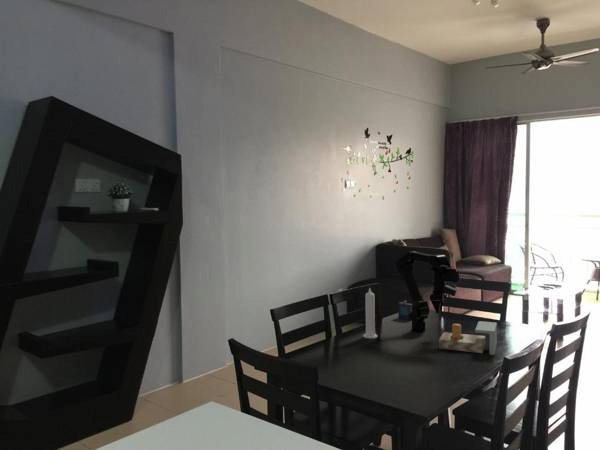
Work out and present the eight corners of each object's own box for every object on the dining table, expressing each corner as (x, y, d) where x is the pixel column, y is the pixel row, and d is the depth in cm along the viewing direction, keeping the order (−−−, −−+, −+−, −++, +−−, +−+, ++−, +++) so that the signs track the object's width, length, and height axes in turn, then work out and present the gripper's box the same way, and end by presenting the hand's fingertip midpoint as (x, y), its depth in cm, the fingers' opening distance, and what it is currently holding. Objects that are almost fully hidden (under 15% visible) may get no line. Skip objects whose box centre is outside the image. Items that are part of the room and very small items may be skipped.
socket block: (439, 348, 231) (438, 339, 230) (443, 340, 243) (443, 332, 243) (482, 353, 223) (482, 344, 222) (485, 344, 235) (485, 336, 235)
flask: (413, 319, 284) (413, 301, 283) (410, 320, 282) (410, 301, 281) (400, 317, 291) (399, 298, 290) (397, 318, 289) (396, 299, 288)
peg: (451, 346, 233) (451, 325, 232) (452, 344, 237) (452, 323, 236) (460, 347, 231) (460, 326, 231) (461, 345, 235) (461, 324, 234)
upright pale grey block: (475, 353, 223) (475, 329, 222) (478, 343, 237) (478, 321, 237) (494, 355, 220) (494, 331, 219) (496, 344, 234) (496, 322, 233)
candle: (377, 339, 248) (376, 289, 246) (362, 338, 249) (362, 288, 248) (377, 335, 254) (377, 286, 253) (363, 334, 256) (363, 286, 254)
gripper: (453, 284, 236) (453, 316, 236) (458, 278, 252) (458, 308, 253) (429, 282, 240) (429, 314, 241) (436, 276, 257) (436, 306, 258)
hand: (439, 311), depth 248 cm, fingers open, 9 cm apart
